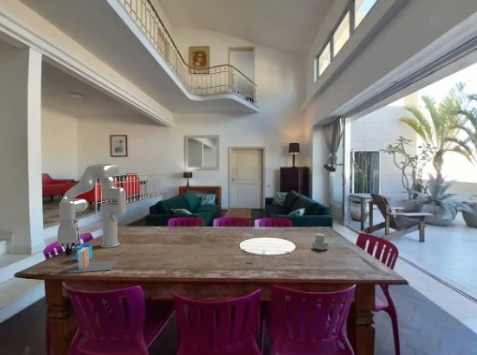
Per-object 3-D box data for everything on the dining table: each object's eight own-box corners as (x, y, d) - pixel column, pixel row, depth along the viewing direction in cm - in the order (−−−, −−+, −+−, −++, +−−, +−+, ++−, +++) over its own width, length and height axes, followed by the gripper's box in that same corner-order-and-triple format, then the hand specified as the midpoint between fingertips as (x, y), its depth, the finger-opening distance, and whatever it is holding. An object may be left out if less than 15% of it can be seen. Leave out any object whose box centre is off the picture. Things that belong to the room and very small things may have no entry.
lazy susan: (295, 258, 168) (295, 252, 168) (234, 254, 176) (234, 249, 176) (295, 240, 207) (295, 236, 207) (244, 238, 215) (244, 233, 215)
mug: (82, 256, 174) (82, 243, 173) (94, 256, 173) (94, 244, 172) (69, 263, 162) (68, 249, 161) (82, 263, 161) (81, 250, 160)
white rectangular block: (83, 264, 158) (83, 247, 157) (89, 264, 158) (88, 247, 158) (78, 269, 151) (78, 251, 150) (84, 268, 151) (83, 251, 151)
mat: (77, 264, 160) (77, 263, 160) (117, 261, 164) (117, 260, 164) (67, 273, 147) (66, 272, 147) (110, 270, 150) (110, 269, 150)
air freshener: (319, 252, 179) (319, 237, 179) (309, 248, 186) (309, 234, 186) (330, 249, 185) (330, 234, 185) (320, 246, 192) (320, 232, 192)
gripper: (84, 220, 157) (85, 252, 158) (56, 221, 154) (57, 253, 155) (79, 223, 149) (80, 256, 150) (49, 224, 147) (51, 258, 148)
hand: (69, 254), depth 153 cm, fingers closed
